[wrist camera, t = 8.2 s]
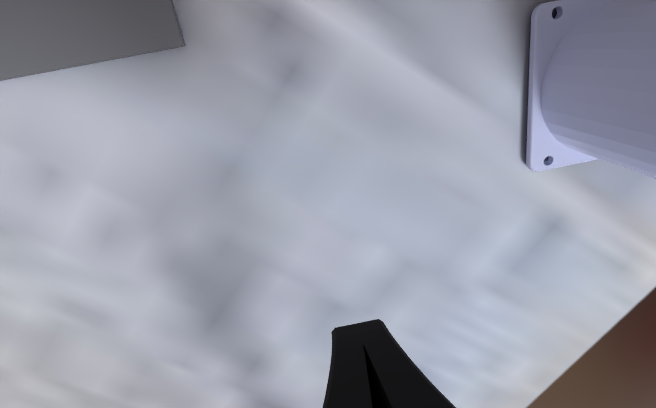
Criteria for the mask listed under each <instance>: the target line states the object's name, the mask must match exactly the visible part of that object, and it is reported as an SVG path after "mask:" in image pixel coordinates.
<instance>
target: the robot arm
mask: <svg viewBox="0 0 656 408" xmlns="http://www.w3.org/2000/svg"><path fill="white" fill-rule="evenodd" d="M554 8H556V9H557V15H556V17H555V18H553V17H552V11H553V9H554ZM546 157H549V158H548V161H547V162H546V163H544V159H545V158H546ZM597 159H601V160H604V161H607V162H609V163H612V164H615V165H618V166H621V167H624V168H627V169H629V170H632V171H635V172H638V173H641V174H644V175H646V176H649V177H652V178H655V179H656V0H557V1H552V2H547V3H542V4H540V5H538V6H537V7H536V8H535V9H534V10H533V12H532V16H531V38H530V66H529V95H528V123H527V151H526V165H527V167H528V168H529V169H531V170H533V171H543V170H548V169H553V168H557V167H562V166H567V165H572V164H577V163H582V162H587V161H592V160H597ZM323 408H456V407H455V406H454V405H453V404H452V403H451V402H450V401H449V400H448V399H447V398H446V397H445V396H444V395H443V394H442V393H441V392H440V391H439V390H438V389H437V388H436V387H435V386H434V385H433V384H432V383H431V382H430V381H429V380H428V379H427V377H426V376H425V375H424V374H423V373H422V372H421V371H420V370H419V368H418V367H417V366H416V365H415V364H414V363H413V362H412V360H411V359H410V358H409V357H408V356H407V354H406V353H405V352H404V351H403V349H402V348H401V347H400V346H399V344H398V343H397V342H396V340H395V339H394V338H393V336H392V335H391V333H390V332H389V331H388V329H387V328H386V326H385V324H384V323H383V321H381V320H379V319H377V320H372V321H367V322H362V323H357V324H352V325H347V326H342V327H337V328H335V329H334V330H333V331H332V356H331V365H330V372H329V378H328V384H327V390H326V395H325V400H324V404H323Z"/></svg>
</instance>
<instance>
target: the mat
mask: <svg viewBox="0 0 656 408" xmlns="http://www.w3.org/2000/svg"><path fill="white" fill-rule="evenodd" d="M182 46H185V43H184V39H183V36H182V33H181V29H180V26H179V23H178V19H177V16H176V13H175V9H174V6H173V3H172V0H0V81H2V80H7V79H12V78H18V77H23V76H28V75H34V74H39V73H44V72H49V71H55V70H60V69H65V68H71V67H76V66H81V65H87V64H92V63H97V62H103V61H108V60H113V59H118V58H124V57H129V56H134V55H140V54H145V53H150V52H156V51H161V50H166V49H172V48H177V47H182Z"/></svg>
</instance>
